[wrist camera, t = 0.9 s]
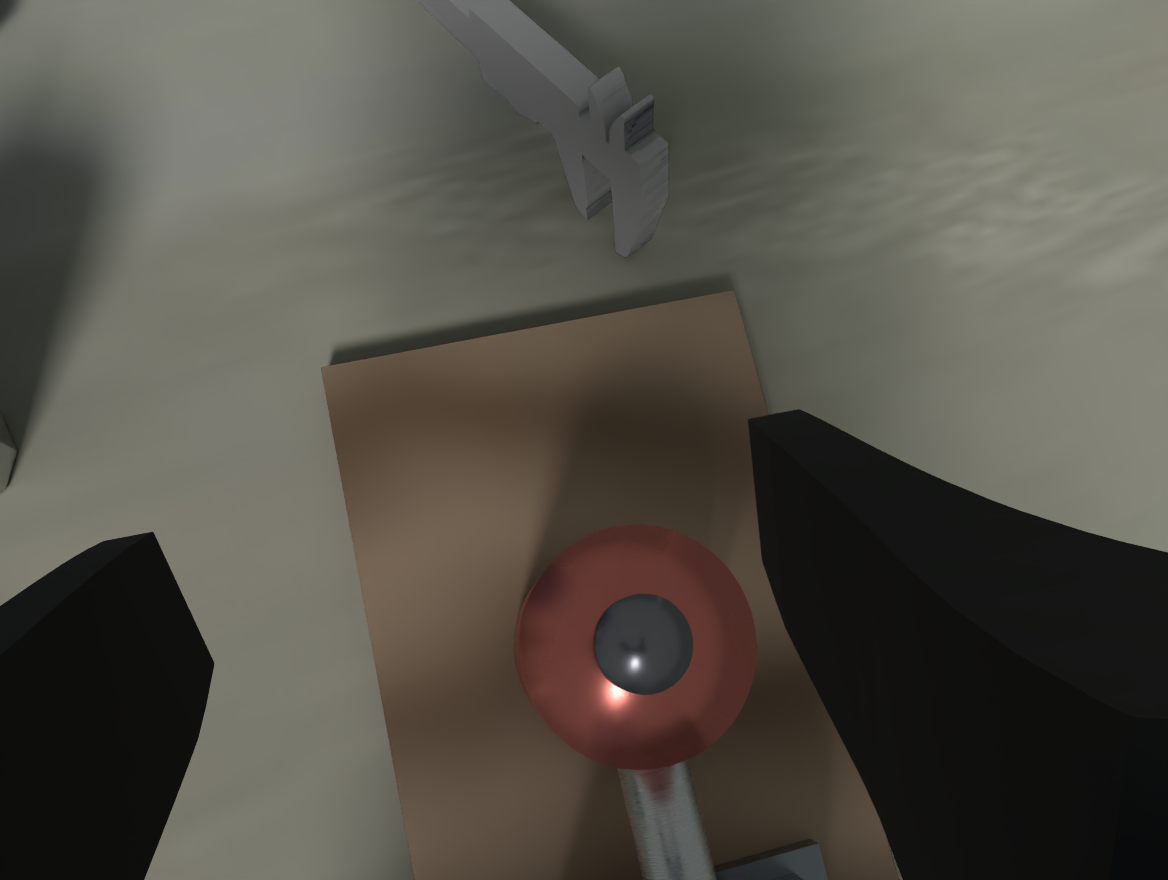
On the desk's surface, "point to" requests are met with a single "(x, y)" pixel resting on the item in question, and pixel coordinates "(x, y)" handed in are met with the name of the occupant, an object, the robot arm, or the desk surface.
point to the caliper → (571, 113)
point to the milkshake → (6, 455)
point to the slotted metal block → (777, 864)
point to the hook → (641, 673)
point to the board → (524, 551)
